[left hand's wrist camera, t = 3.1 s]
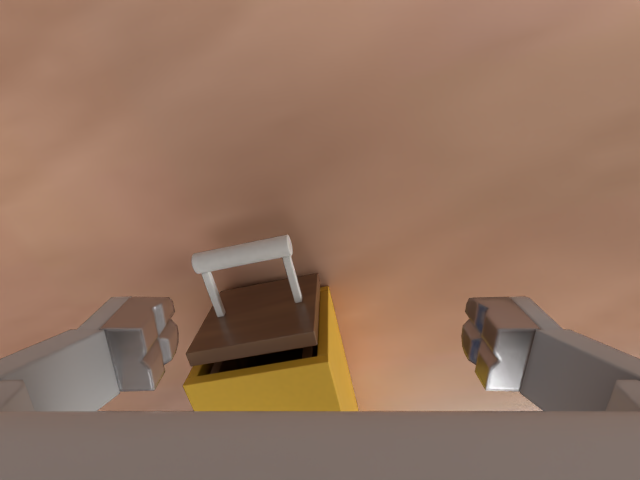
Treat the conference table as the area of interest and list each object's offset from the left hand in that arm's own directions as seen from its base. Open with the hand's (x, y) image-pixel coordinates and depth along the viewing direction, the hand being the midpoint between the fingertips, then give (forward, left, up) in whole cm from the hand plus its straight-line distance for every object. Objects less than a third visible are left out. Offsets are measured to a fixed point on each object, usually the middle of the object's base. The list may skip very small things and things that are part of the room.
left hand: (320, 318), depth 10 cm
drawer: (-9, +14, -22) cm, 27 cm away
